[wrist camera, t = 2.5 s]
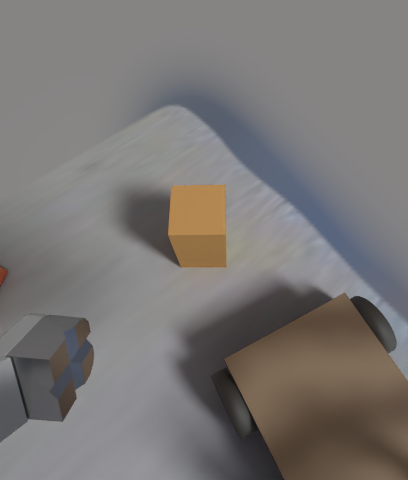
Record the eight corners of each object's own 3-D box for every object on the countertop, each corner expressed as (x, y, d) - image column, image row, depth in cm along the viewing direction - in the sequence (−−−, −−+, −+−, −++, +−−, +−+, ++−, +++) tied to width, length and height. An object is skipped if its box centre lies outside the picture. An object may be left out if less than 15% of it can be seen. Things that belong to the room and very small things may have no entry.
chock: (226, 267, 33) (225, 234, 26) (180, 267, 34) (168, 235, 26) (226, 226, 35) (225, 184, 28) (183, 226, 36) (171, 185, 28)
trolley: (469, 482, 25) (705, 578, 13) (313, 587, 23) (409, 817, 11) (341, 298, 31) (415, 242, 19) (209, 371, 30) (196, 361, 17)
